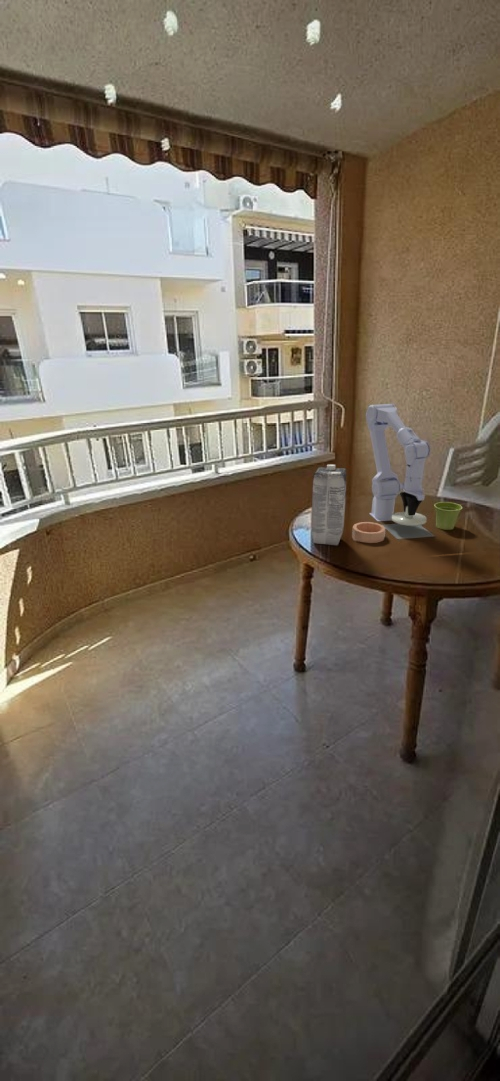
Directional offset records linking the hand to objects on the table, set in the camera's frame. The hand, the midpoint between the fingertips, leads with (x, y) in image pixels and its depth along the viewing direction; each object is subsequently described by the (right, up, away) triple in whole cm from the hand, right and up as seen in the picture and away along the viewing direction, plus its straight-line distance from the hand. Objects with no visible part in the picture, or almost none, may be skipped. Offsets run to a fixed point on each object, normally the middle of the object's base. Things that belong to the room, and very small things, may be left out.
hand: (409, 513), depth 157 cm
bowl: (-15, -9, -1) cm, 18 cm away
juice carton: (-30, -10, -3) cm, 32 cm away
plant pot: (+15, -5, +5) cm, 17 cm away
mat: (0, -7, +3) cm, 7 cm away
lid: (0, -2, +1) cm, 2 cm away
